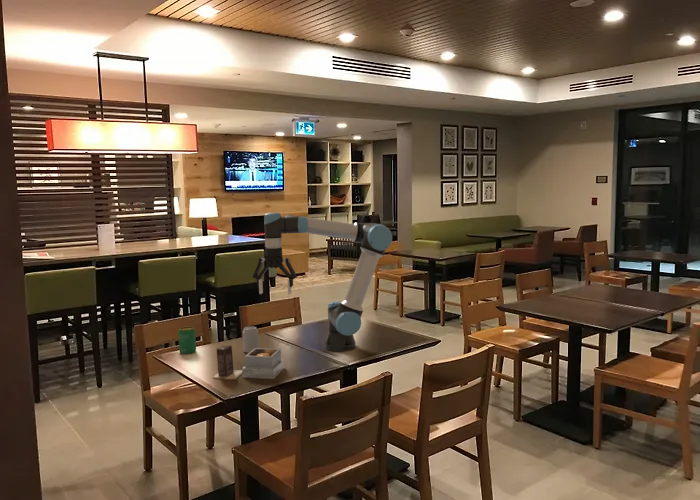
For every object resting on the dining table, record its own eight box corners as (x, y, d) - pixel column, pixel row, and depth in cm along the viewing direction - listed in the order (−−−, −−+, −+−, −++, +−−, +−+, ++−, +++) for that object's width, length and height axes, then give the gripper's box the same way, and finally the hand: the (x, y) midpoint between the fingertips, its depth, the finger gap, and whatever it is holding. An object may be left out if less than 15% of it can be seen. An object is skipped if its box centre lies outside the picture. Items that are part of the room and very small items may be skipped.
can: (255, 354, 271) (254, 329, 270) (240, 353, 273) (239, 329, 271) (261, 349, 279) (260, 326, 277) (246, 349, 280) (245, 325, 279)
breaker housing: (284, 368, 250) (283, 348, 249) (273, 379, 236) (273, 358, 235) (254, 366, 252) (253, 347, 251) (242, 377, 239) (241, 356, 238)
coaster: (244, 371, 246) (244, 370, 246) (235, 379, 236) (235, 378, 236) (222, 370, 248) (222, 369, 248) (212, 378, 238) (212, 377, 238)
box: (224, 371, 245) (223, 344, 243) (233, 372, 243) (232, 345, 242) (217, 376, 239) (216, 348, 238) (226, 377, 238) (225, 349, 236)
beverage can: (199, 350, 279) (198, 327, 277) (188, 355, 272) (187, 331, 270) (187, 349, 282) (185, 325, 281) (175, 353, 275) (174, 329, 274)
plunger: (271, 361, 246) (271, 353, 245) (267, 365, 240) (267, 357, 240) (259, 360, 247) (259, 352, 246) (254, 364, 241) (254, 356, 241)
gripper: (302, 246, 255) (304, 292, 257) (250, 246, 259) (252, 291, 262) (297, 248, 247) (299, 295, 250) (244, 248, 252) (246, 294, 255)
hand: (275, 293), depth 256 cm, fingers open, 13 cm apart
